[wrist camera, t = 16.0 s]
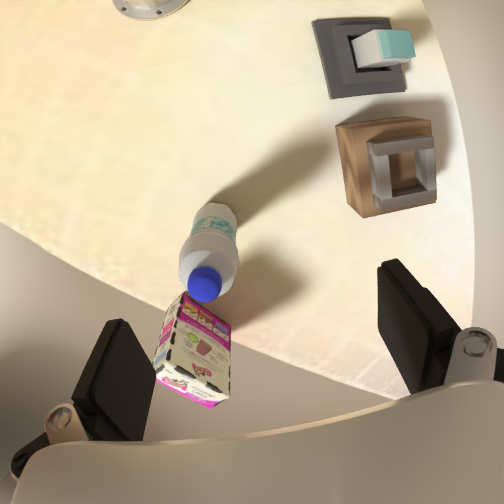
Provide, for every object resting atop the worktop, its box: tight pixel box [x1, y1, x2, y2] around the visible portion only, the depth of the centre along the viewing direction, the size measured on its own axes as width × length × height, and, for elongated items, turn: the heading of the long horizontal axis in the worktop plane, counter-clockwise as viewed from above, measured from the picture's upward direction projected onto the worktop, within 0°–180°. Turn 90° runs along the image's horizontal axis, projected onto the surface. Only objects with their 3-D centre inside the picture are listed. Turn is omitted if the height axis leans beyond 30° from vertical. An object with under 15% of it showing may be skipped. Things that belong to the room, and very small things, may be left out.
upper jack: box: [335, 117, 437, 218], centre depth 40 cm, size 12×12×10 cm
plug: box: [349, 30, 416, 69], centre depth 31 cm, size 4×4×12 cm
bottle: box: [179, 203, 239, 302], centre depth 39 cm, size 7×7×20 cm
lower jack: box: [311, 18, 405, 99], centre depth 35 cm, size 12×12×4 cm
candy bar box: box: [152, 293, 231, 409], centre depth 48 cm, size 11×5×16 cm, turn 47°
